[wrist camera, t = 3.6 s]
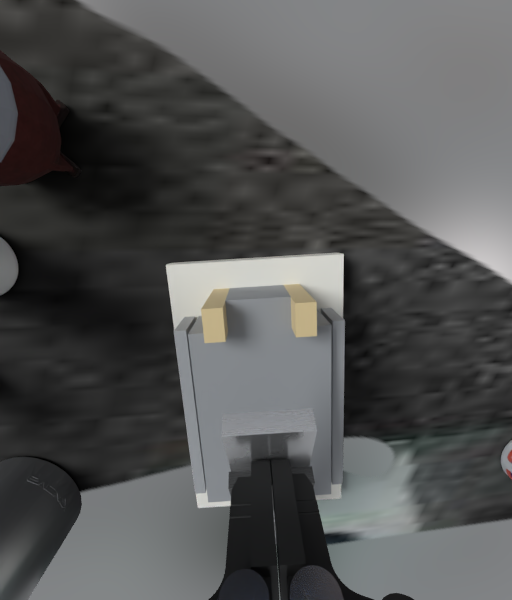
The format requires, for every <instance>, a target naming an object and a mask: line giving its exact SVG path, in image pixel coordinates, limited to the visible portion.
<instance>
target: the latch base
mask: <svg viewBox="0 0 512 600" xmlns="http://www.w3.org/2000/svg"><path fill="white" fill-rule="evenodd" d="M166 271H167V278H168V286H169V294H170V301H171V309H172V316H173V324H174V338H175V345H176V353H177V360H178V368H179V375H180V383H181V390H182V398H183V405H184V413H185V420H186V428H187V436H188V443H189V451H190V458H191V466H192V473H193V480H194V488H195V493H196V498H197V504H198V505H197V506H198V508H205V507H221V506H231V495H230V492H229V489H228V482H229V472H231V469H230V465H229V462H228V458H227V455H226V451H225V447H224V444H223V440H222V418H223V414H232V413H248V412H263V411H278V410H294V409H309V408H312V409H313V413H314V418H315V423H316V428H317V433H316V438H315V443H314V448H313V452H312V457H311V462H310V466H312V469H313V475H314V481H315V484H314V492H315V497H316V500H326V499H341V484H343V428H344V350H345V320H344V319H343V276H344V254H341V253H324V254H308V255H292V256H275V257H259V258H243V259H227V260H210V261H194V262H178V263H170V264H167V265H166Z"/></svg>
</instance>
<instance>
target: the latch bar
mask: <svg viewBox="0 0 512 600" xmlns="http://www.w3.org/2000/svg"><path fill="white" fill-rule="evenodd" d="M316 433H317V428H316V423H315V418H314V413H313V409H312V408H309V409H294V410H278V411H263V412H248V413H232V414H223V418H222V440H223V444H224V447H225V451H226V455H227V458H228V462H229V465H230V469H231V472H229V482H228V489H229V492H230V495H231V492H232V488H233V486H234V484H235V482H236V480H237V478H238V477H251V461H256V460H269V461H270V474H271V487H272V471H271V460H272V459H289V460H290V465H291V472H292V474H300V473H305V475H306V476H307V478H308V479H309V480H310V482H311V483H312V485H313V488H314V484H315V481H314V475H313V469H312V466H310V462H311V457H312V452H313V448H314V443H315V438H316ZM272 501H273V489H272ZM273 514H274V505H273ZM274 527H275V518H274ZM275 541H276V531H275Z"/></svg>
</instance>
